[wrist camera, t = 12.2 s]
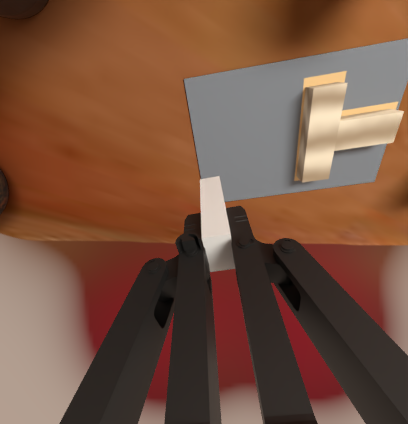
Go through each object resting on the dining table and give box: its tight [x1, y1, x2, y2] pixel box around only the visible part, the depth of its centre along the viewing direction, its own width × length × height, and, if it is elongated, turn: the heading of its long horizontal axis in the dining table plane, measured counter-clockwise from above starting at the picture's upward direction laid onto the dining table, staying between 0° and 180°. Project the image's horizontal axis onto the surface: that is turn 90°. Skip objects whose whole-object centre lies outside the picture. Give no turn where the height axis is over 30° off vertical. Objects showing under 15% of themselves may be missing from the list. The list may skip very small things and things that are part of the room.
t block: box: [296, 82, 404, 182], centre depth 37 cm, size 16×15×3 cm
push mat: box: [184, 39, 408, 202], centre depth 39 cm, size 24×36×1 cm, turn 99°
